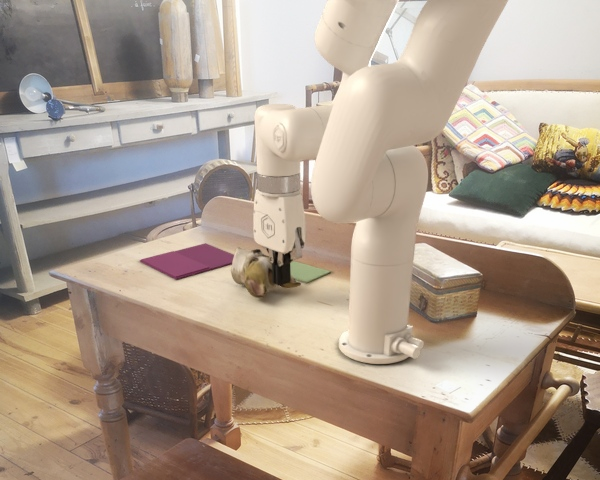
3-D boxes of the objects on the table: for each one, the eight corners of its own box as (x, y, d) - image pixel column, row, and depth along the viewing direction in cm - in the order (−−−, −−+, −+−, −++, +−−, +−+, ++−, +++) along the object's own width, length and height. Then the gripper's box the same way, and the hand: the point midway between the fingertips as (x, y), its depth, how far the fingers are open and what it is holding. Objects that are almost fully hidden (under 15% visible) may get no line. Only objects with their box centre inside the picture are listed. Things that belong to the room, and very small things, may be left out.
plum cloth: (244, 260, 136) (244, 258, 136) (176, 279, 126) (176, 277, 126) (205, 244, 146) (205, 242, 146) (139, 261, 136) (139, 259, 136)
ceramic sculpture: (258, 233, 123) (304, 255, 114) (259, 272, 128) (303, 296, 119) (214, 244, 118) (260, 268, 108) (217, 285, 123) (261, 311, 113)
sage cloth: (330, 272, 129) (330, 271, 128) (306, 283, 123) (306, 281, 123) (289, 260, 135) (289, 259, 135) (265, 270, 130) (265, 269, 130)
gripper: (236, 179, 106) (242, 277, 116) (290, 194, 97) (292, 299, 107) (268, 173, 110) (272, 268, 120) (323, 187, 101) (322, 288, 111)
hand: (281, 282), depth 114 cm, fingers closed
